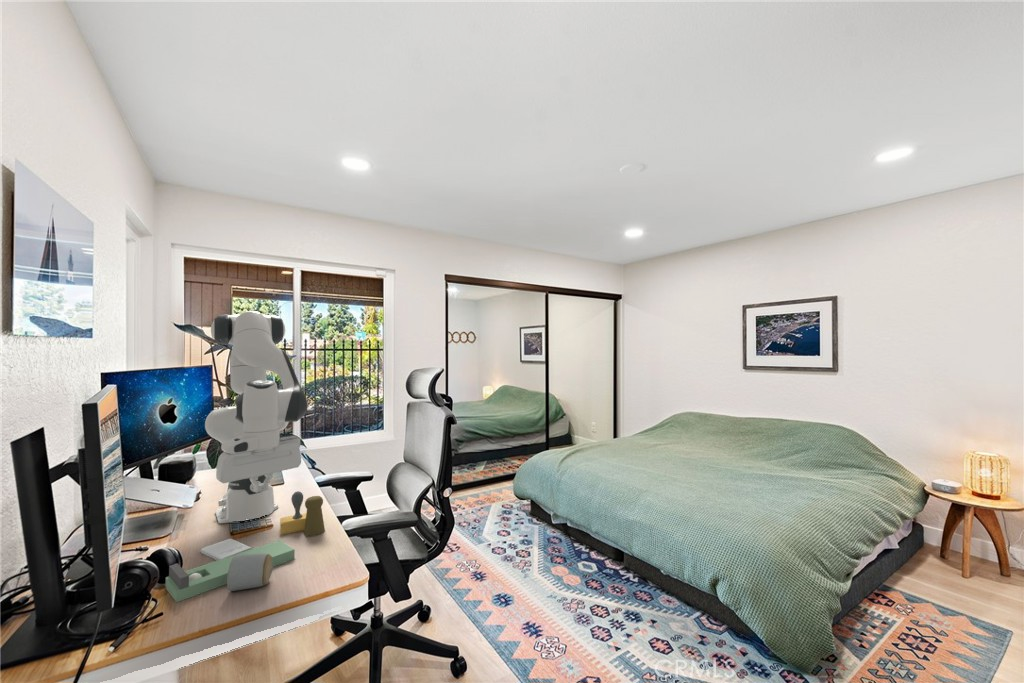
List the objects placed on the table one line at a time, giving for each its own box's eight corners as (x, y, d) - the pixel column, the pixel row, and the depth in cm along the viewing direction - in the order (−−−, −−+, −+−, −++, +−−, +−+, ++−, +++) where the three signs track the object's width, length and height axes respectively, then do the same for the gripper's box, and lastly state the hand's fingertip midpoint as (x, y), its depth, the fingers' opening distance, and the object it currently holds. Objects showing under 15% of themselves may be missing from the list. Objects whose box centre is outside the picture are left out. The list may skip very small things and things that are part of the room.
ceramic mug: (266, 591, 100) (266, 557, 101) (226, 598, 98) (226, 563, 98) (276, 570, 110) (276, 540, 111) (240, 576, 108) (240, 545, 108)
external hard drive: (231, 543, 129) (252, 552, 122) (200, 554, 122) (221, 564, 116) (231, 537, 129) (252, 546, 123) (200, 548, 122) (220, 558, 116)
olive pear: (316, 536, 131) (316, 500, 131) (299, 535, 132) (299, 499, 132) (328, 528, 137) (328, 494, 137) (312, 527, 138) (311, 493, 138)
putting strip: (165, 587, 103) (165, 566, 103) (279, 548, 123) (279, 531, 123) (176, 602, 96) (176, 579, 97) (294, 558, 116) (294, 540, 117)
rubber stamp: (280, 535, 133) (280, 496, 133) (280, 529, 138) (280, 491, 138) (315, 528, 138) (315, 491, 138) (313, 522, 143) (313, 486, 143)
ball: (185, 588, 103) (183, 575, 103) (201, 580, 105) (199, 568, 105) (188, 592, 101) (186, 580, 101) (204, 585, 103) (202, 572, 103)
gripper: (295, 432, 126) (295, 479, 126) (214, 445, 110) (214, 498, 110) (305, 435, 122) (305, 483, 122) (222, 448, 106) (222, 504, 106)
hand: (261, 491), depth 116 cm, fingers closed
